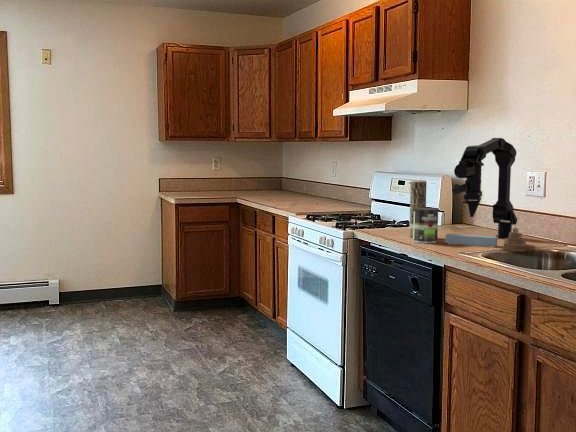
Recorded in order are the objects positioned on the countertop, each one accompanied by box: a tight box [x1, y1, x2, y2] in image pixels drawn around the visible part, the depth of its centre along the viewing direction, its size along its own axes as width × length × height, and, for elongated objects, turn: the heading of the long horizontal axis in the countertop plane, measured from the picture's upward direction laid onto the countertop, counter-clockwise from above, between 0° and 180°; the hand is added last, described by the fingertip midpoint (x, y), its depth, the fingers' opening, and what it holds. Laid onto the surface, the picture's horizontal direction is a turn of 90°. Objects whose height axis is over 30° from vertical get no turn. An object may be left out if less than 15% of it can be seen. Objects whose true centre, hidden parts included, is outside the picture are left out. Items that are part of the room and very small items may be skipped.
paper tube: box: [409, 179, 427, 238], centre depth 277 cm, size 7×7×25 cm
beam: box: [445, 233, 498, 248], centre depth 258 cm, size 4×20×4 cm, turn 64°
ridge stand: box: [503, 227, 527, 252], centre depth 252 cm, size 18×8×6 cm, turn 160°
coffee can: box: [412, 206, 440, 244], centre depth 266 cm, size 10×10×14 cm
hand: (472, 215), depth 257 cm, fingers open, 9 cm apart
